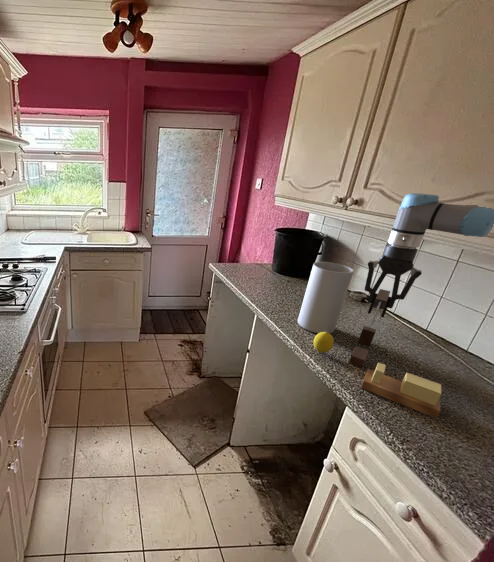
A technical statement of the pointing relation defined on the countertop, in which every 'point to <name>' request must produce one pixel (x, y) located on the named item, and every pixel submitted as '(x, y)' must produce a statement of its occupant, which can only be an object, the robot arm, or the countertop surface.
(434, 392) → the butter
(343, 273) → the cylinder vase
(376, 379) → the butter slice
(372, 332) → the knife stand
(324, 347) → the lemon
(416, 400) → the board
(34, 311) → the countertop surface
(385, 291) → the knife
